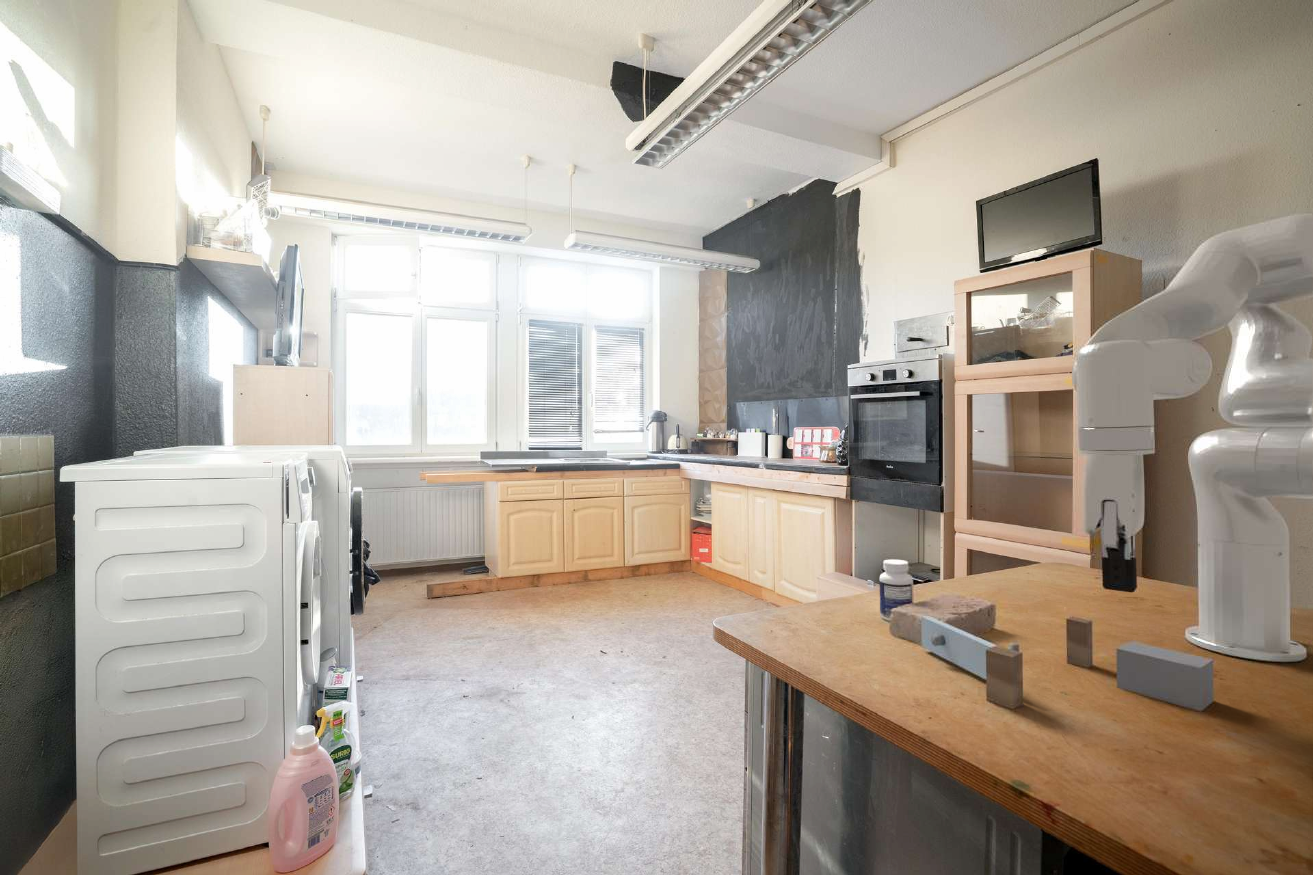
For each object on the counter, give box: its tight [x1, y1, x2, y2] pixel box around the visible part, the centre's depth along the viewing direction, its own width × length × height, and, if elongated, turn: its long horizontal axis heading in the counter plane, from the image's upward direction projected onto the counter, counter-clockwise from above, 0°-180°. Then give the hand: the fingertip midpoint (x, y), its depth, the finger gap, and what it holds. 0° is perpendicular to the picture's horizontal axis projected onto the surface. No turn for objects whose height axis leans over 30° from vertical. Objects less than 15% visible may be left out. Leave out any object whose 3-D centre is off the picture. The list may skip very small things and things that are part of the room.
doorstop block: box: [1115, 640, 1215, 712], centre depth 73 cm, size 4×8×5 cm, turn 34°
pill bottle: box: [879, 559, 914, 622], centre depth 105 cm, size 5×5×10 cm
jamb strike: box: [1065, 616, 1094, 668], centre depth 83 cm, size 2×2×6 cm
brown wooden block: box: [985, 645, 1024, 710], centre depth 72 cm, size 2×3×6 cm
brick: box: [889, 593, 997, 646], centre depth 98 cm, size 17×8×5 cm, turn 121°
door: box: [921, 616, 1020, 680], centre depth 81 cm, size 17×2×6 cm, turn 13°
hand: (1119, 589), depth 76 cm, fingers closed
